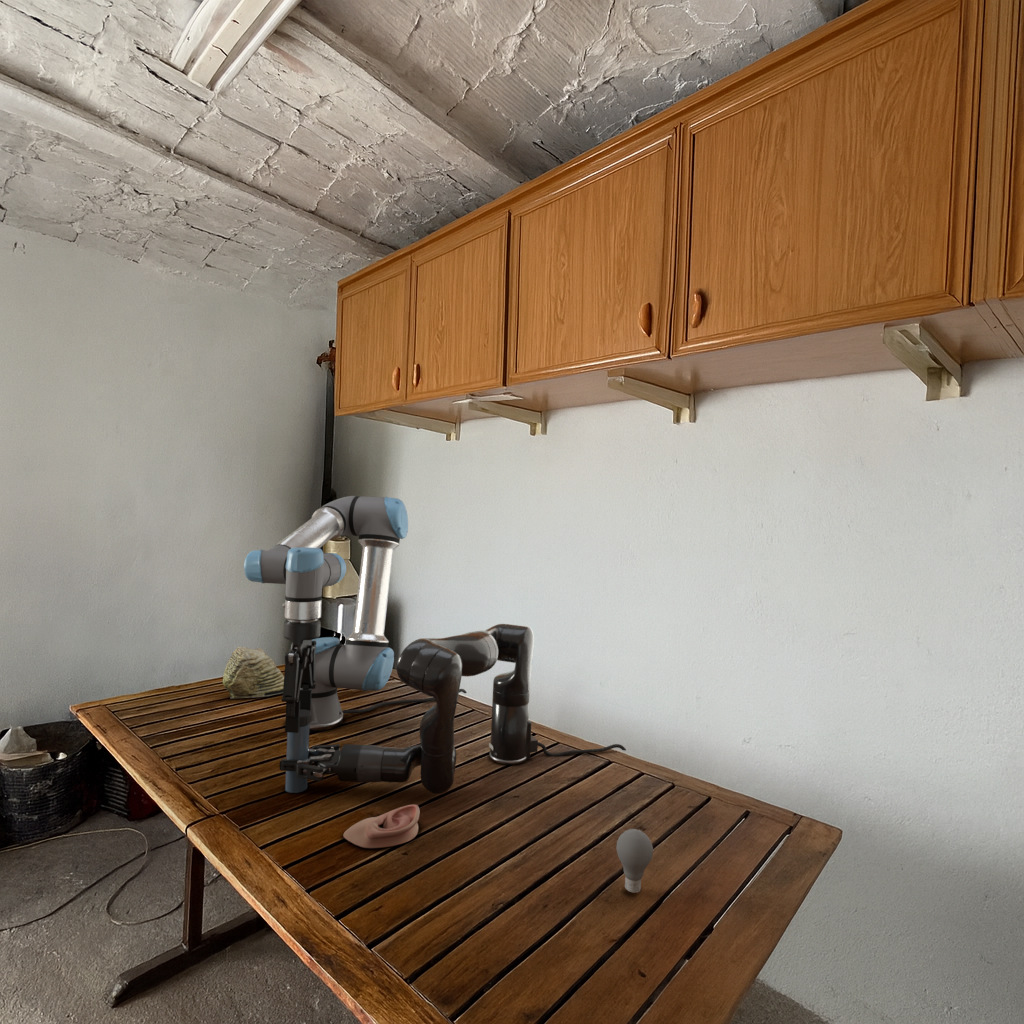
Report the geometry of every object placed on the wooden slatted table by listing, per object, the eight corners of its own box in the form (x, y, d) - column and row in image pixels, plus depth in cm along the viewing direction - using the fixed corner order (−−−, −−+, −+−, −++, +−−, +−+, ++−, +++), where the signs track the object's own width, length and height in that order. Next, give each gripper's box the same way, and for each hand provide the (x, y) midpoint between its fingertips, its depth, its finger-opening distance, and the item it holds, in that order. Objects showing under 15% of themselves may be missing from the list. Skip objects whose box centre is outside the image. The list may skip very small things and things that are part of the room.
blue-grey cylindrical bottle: (304, 792, 135) (307, 718, 135) (282, 793, 135) (285, 718, 134) (309, 783, 140) (311, 711, 139) (287, 783, 139) (290, 711, 139)
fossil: (218, 695, 195) (220, 647, 195) (278, 685, 208) (279, 640, 207) (228, 703, 189) (230, 653, 188) (289, 692, 201) (290, 645, 201)
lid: (308, 727, 135) (308, 717, 135) (283, 727, 134) (283, 717, 134) (313, 718, 140) (313, 709, 140) (289, 718, 139) (289, 709, 139)
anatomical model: (336, 822, 116) (363, 794, 127) (335, 843, 116) (362, 813, 127) (404, 832, 113) (426, 803, 124) (403, 854, 113) (425, 823, 124)
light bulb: (610, 879, 108) (613, 822, 108) (644, 879, 109) (647, 822, 109) (619, 902, 102) (622, 840, 102) (655, 901, 103) (658, 840, 103)
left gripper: (300, 611, 146) (296, 709, 147) (267, 627, 126) (262, 741, 127) (332, 612, 147) (328, 711, 147) (305, 629, 126) (300, 743, 127)
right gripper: (371, 733, 144) (296, 730, 144) (355, 759, 130) (272, 755, 130) (370, 766, 144) (295, 763, 144) (354, 795, 130) (271, 792, 130)
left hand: (298, 725), depth 137 cm, fingers open, 7 cm apart
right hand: (284, 759), depth 137 cm, fingers closed on blue-grey cylindrical bottle, 4 cm apart
